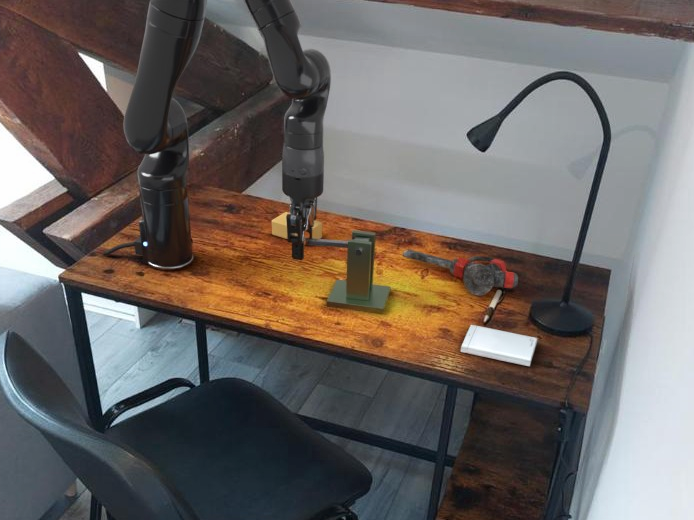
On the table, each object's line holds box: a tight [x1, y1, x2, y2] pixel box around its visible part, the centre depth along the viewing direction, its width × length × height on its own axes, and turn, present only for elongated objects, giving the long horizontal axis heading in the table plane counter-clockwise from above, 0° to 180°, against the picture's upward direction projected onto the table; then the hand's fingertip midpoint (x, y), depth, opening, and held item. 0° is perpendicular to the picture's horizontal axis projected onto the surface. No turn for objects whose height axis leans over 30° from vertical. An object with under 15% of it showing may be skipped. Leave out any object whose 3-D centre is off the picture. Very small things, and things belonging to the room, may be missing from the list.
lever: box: [304, 231, 370, 249], centre depth 153 cm, size 14×6×2 cm, turn 79°
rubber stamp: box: [271, 197, 323, 240], centre depth 177 cm, size 10×6×12 cm, turn 61°
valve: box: [402, 249, 519, 296], centre depth 169 cm, size 6×26×15 cm
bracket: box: [326, 229, 392, 315], centre depth 154 cm, size 11×9×13 cm
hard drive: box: [460, 324, 538, 367], centre depth 145 cm, size 2×8×12 cm
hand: (302, 251), depth 155 cm, fingers closed on lever, 5 cm apart
